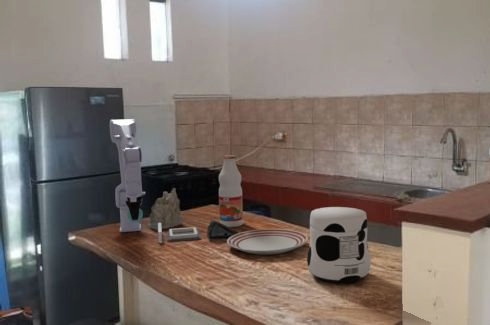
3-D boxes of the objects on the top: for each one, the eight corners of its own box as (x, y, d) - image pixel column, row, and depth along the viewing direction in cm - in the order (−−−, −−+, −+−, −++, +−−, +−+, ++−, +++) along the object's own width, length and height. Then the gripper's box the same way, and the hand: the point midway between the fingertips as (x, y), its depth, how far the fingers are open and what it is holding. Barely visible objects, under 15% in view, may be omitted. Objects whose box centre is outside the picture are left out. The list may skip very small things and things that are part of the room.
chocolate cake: (241, 235, 183) (218, 213, 184) (242, 235, 176) (218, 212, 177) (223, 254, 182) (201, 231, 183) (223, 254, 175) (199, 231, 176)
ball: (128, 220, 180) (127, 205, 179) (143, 219, 181) (142, 204, 180) (127, 224, 175) (126, 208, 174) (143, 223, 176) (142, 207, 175)
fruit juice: (247, 223, 200) (245, 154, 196) (236, 228, 192) (234, 157, 188) (227, 221, 204) (224, 154, 201) (215, 226, 196) (213, 156, 193)
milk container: (326, 262, 149) (326, 203, 147) (380, 273, 138) (381, 210, 136) (295, 278, 136) (294, 215, 134) (352, 292, 125) (352, 223, 123)
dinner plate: (211, 253, 161) (211, 244, 161) (249, 233, 185) (249, 224, 185) (289, 264, 148) (289, 254, 148) (319, 240, 172) (319, 231, 172)
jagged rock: (166, 216, 214) (164, 183, 211) (189, 224, 203) (187, 189, 200) (135, 226, 204) (132, 191, 201) (158, 234, 192) (154, 197, 189)
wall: (158, 233, 188) (157, 222, 187) (161, 232, 188) (161, 222, 188) (158, 243, 174) (158, 232, 174) (162, 242, 174) (161, 232, 174)
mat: (166, 233, 187) (166, 228, 187) (198, 230, 190) (197, 226, 189) (167, 241, 176) (167, 236, 176) (201, 239, 178) (200, 234, 178)
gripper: (144, 183, 170) (146, 221, 171) (145, 177, 184) (146, 212, 186) (123, 184, 168) (125, 223, 170) (125, 178, 183) (127, 214, 184)
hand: (135, 217), depth 178 cm, fingers closed on ball, 5 cm apart
